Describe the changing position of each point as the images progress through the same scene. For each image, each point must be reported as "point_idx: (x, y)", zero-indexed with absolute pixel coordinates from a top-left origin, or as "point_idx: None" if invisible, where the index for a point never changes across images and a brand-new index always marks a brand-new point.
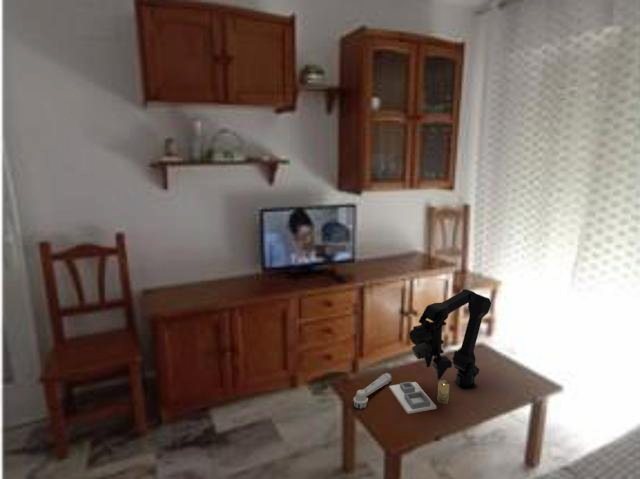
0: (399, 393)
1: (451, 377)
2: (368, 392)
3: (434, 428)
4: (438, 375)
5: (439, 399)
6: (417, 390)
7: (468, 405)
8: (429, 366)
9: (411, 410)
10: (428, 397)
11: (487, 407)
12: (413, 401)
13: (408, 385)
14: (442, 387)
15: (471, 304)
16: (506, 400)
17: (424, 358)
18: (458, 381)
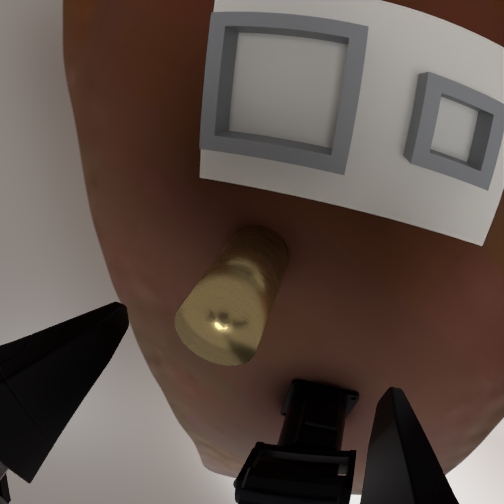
0: (433, 45)
1: None
2: None
3: (89, 80)
4: (62, 331)
5: (244, 236)
6: (407, 184)
7: None
8: (377, 408)
9: (218, 10)
10: (301, 194)
11: (164, 353)
12: (304, 69)
13: (473, 161)
14: (191, 295)
15: None
16: (186, 406)
17: (440, 480)
18: (320, 401)
